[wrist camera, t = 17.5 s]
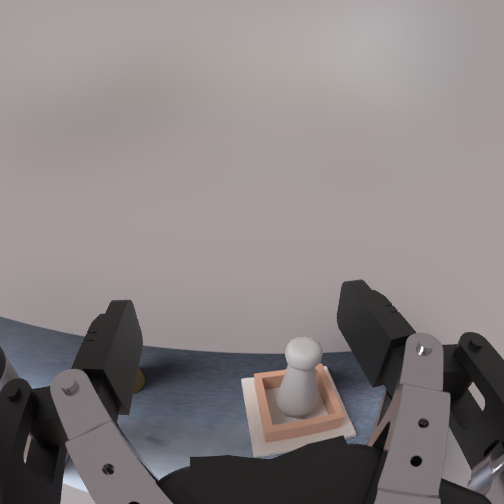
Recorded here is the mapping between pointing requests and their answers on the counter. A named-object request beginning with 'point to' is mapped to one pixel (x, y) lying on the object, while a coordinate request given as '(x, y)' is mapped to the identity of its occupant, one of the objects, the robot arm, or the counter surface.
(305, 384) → the salt shaker
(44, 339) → the counter surface
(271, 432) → the tray
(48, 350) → the counter surface
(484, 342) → the robot arm
